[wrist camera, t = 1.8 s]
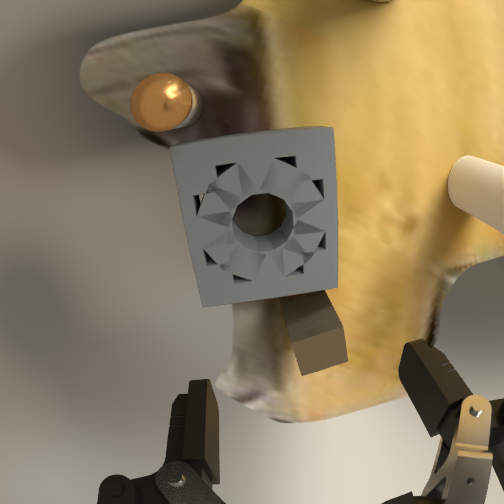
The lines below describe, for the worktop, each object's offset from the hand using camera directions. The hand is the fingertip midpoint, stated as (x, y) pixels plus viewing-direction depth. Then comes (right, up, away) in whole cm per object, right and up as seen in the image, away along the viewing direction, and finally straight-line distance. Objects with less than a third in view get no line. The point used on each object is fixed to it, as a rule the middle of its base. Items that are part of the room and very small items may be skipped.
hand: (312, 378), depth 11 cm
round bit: (-9, +19, +15) cm, 26 cm away
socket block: (-2, +9, +20) cm, 22 cm away
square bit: (+4, -1, +25) cm, 26 cm away
